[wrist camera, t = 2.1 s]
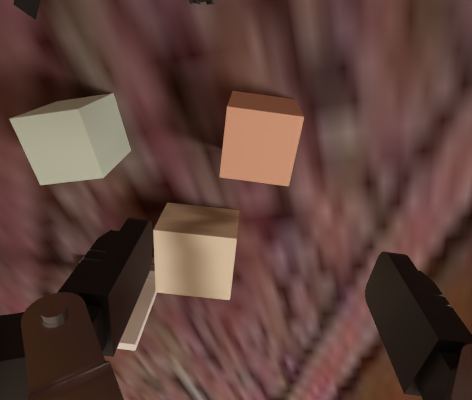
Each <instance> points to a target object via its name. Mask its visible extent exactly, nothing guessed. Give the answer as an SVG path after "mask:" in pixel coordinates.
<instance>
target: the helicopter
mask: <svg viewBox="0 0 472 400" xmlns="http://www.w3.org/2000/svg"><path fill="white" fill-rule="evenodd" d="M204 1H206V3H207V4H214V2H213V0H189V2H190V4H191V3H197V4H200V3H201V2H204ZM39 4H40V0H14V5H15V6H17V7H18V8H20V9H21V10H22V11H24V12H25V13H27V14H28V15H30V16H31V17H33V18H34V19H35V20H36V16H37V12H38V8H39Z"/></svg>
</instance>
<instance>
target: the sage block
mask: <svg viewBox="0 0 472 400" xmlns="http://www.w3.org/2000/svg"><path fill="white" fill-rule="evenodd" d="M10 122H11V124H12V126H13V128H14V130H15V132H16V134H17V136H18V139H19V141H20V143H21V145H22V147H23V149H24V151H25V153H26V156H27V158H28V160H29V162H30V164H31V166H32V168H33V170H34V173H35V175H36V177H37V179H38V181H39V183H40V185H46V184H55V183H64V182H72V181H81V180H90V179H98V178H104V177H105V176H106V175H107V174H108V173H109V172H110V171H111V170H112V169H113V168H114V167H115V166H116V165H117V164H118V163H119V162H120V161H121V160H122V159H123V158H124V157H125V156H126V155H127V154H128V153H129V152H130V151H131V149H130V146H129V142H128V139H127V136H126V133H125V129H124V126H123V123H122V120H121V116H120V113H119V110H118V107H117V103H116V100H115V97H114V94H113V93H110V94H104V95H97V96H90V97H83V98H76V99H69V100H62V101H56V102H54V103H51V104H48V105H45V106H43V107H40V108H37V109H35V110H32V111H29V112H26V113H24V114H21V115H18V116H15V117H13V118H10Z"/></svg>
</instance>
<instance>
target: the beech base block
mask: <svg viewBox="0 0 472 400" xmlns="http://www.w3.org/2000/svg"><path fill="white" fill-rule="evenodd" d="M238 219H239V210H234V209H225V208H215V207H206V206H196V205H186V204H177V203H167V204H166V206H165V208H164V210H163V212H162V214H161V216H160V218H159V220H158V222H157V224H156V226H155V228H154V230H153V235H154V262H155V289H156V292H158V293H167V294H177V295H186V296H196V297H205V298H215V299H224V300H230V295H231V286H232V277H233V268H234V259H235V250H236V242H237V231H238Z"/></svg>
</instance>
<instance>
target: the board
mask: <svg viewBox="0 0 472 400" xmlns="http://www.w3.org/2000/svg"><path fill="white" fill-rule="evenodd" d="M82 259H84V256H83V257H82ZM82 259H81V260H82ZM81 260H80V261H79V263H80V262H81ZM157 293H158V292H156V289H155V265H153V264H151V268H150V272H149V275H148V277H147V279H146V282H145V284H144V286H143V289H142V291H141V293H140V296H139V298H138V300H137V303H136V305H135V307H134V310H133V312H132V314H131V317H130V319H129V321H128V324H127V326H126V328H125V331H124V333H123V335H122V338H121V340H120V342H119V345H118V347H117V348H118V349H126V350H134V351H135V350H136V348H137V345H138V342H139V340H140V337H141V334H142V331H143V329H144V326H145V323H146V321H147V318H148V315H149V313H150V310H151V307H152V304H153V302H154V299H155V296H156V294H157Z"/></svg>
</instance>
